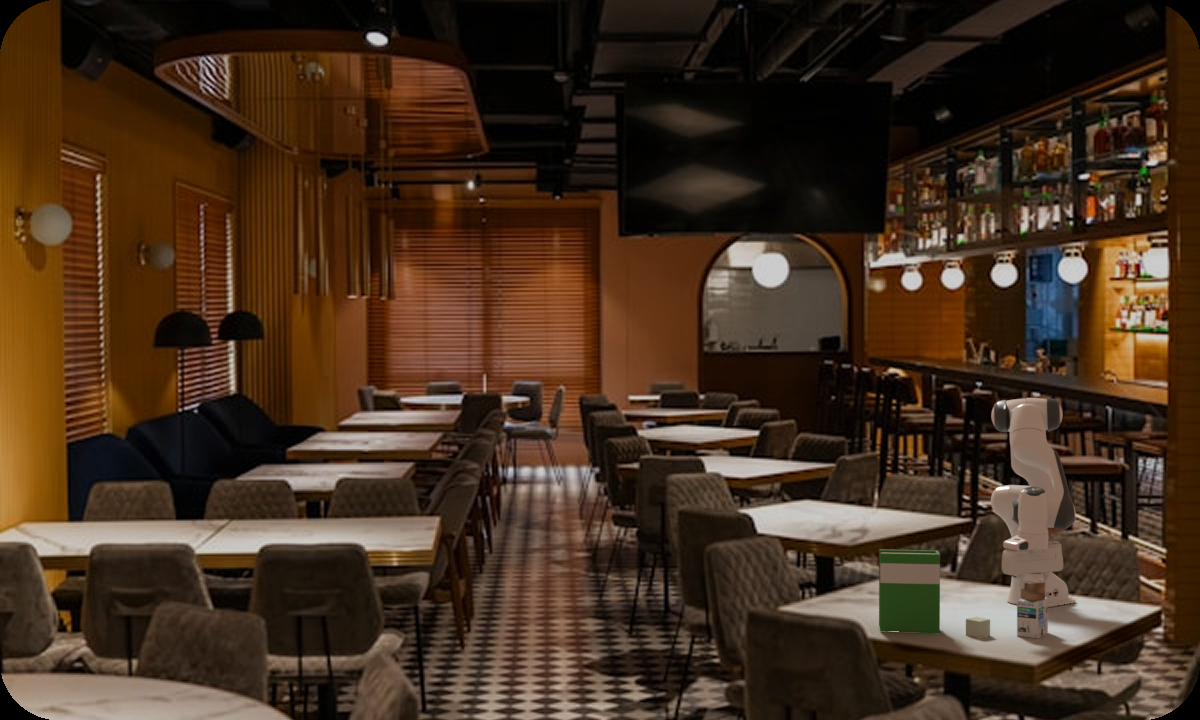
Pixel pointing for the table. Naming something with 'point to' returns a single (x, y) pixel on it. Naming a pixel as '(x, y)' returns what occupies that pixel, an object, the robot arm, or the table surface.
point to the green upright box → (909, 591)
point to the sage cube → (977, 627)
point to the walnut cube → (1033, 590)
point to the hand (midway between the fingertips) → (1032, 587)
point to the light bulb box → (1032, 618)
